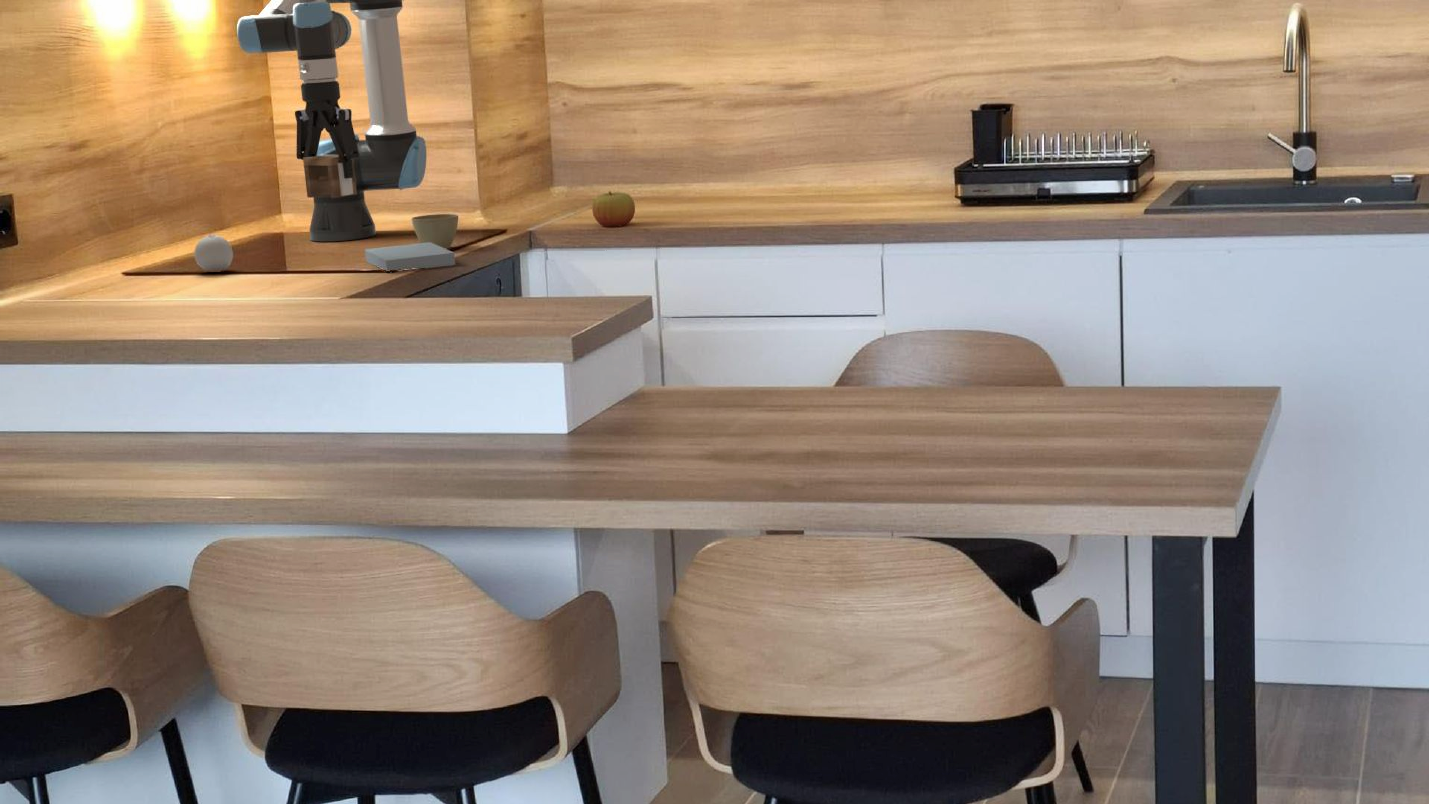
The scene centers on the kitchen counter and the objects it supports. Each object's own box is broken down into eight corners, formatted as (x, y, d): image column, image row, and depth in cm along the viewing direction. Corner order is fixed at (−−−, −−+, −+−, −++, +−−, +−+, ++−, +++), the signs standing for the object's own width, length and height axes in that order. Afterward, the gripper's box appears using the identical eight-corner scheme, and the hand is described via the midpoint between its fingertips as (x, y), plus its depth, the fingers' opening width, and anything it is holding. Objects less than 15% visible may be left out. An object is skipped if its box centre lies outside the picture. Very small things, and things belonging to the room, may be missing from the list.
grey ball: (201, 276, 358) (196, 237, 356) (193, 272, 364) (189, 234, 363) (239, 271, 361) (234, 233, 359) (230, 267, 368) (226, 230, 366)
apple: (586, 228, 396) (583, 193, 395) (604, 222, 405) (602, 188, 403) (625, 228, 393) (622, 193, 391) (643, 222, 401) (640, 187, 400)
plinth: (365, 261, 365) (364, 249, 365) (431, 253, 371) (430, 242, 370) (387, 272, 347) (385, 260, 347) (455, 264, 353) (454, 252, 352)
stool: (307, 197, 354) (302, 157, 352) (329, 193, 359) (324, 154, 357) (335, 198, 349) (330, 158, 348) (356, 194, 354) (352, 154, 352)
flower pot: (452, 252, 371) (448, 218, 370) (407, 253, 373) (404, 220, 372) (467, 245, 381) (464, 212, 379) (424, 246, 383) (421, 214, 381)
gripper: (269, 83, 351) (282, 195, 357) (343, 81, 340) (355, 197, 345) (296, 80, 357) (309, 191, 363) (370, 78, 346) (382, 192, 351)
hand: (331, 194), depth 354 cm, fingers closed on stool, 8 cm apart
